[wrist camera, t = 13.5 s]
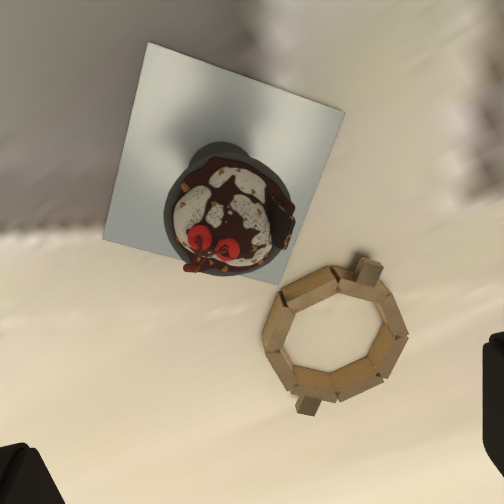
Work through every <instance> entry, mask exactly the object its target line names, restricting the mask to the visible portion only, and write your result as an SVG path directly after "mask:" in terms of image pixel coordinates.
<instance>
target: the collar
mask: <svg viewBox="0 0 504 504" xmlns="http://www.w3.org/2000/svg"><path fill="white" fill-rule="evenodd" d="M383 268H384V267H383V266H382V265H381V264H380V263H379V262H377V261H374V260H370V259H367V258H363V257H361V258H360V260H359V262H358V265H357V267H356V269H355V271H351V270H347V269H343V268H340V267H336V266H333V265H332V267H331V269H329V268H328V266H326V267H324V268H322V269H320V270H318V271H316V272H314V273H312V274H310V275H308V276H306V277H304V278H302V279H300V280H298V281H296V282H293V283H291V284H289V285H287V286H285V287H283V288H281V289H282V292H283V293H280V292H278V293H277V296H276V298H275V301H274V304H273V306H272V309H271V311H270V314H269V316H268V319H267V322H266V324H265V327H264V329H263V332H262V341H263V346H264V350H265V355H266V357H267V358H268V360H269V362H270V363H271V365H272V367H273V368H274V370H275V372H276V374H277V375H278V377H279V379H280V380H281V382H282V384H283V385H284V387H285V389H286V390H287V391H289V390H290V393H291V394H294V395H299V398H298V400H297V402H296V404H295V407H296V410H297V413H299V414H304V415H309V416H315V414H316V412H317V409H318V407H319V405H320V403H321V401H322V400H323V401H328V402H332V403H336V401H337V399H338V400H339V402H342V401H344V400H347V399H349V398H351V397H353V396H355V395H357V394H360V393H362V392H364V391H366V390H368V389H370V388H372V387H375V386H377V385H379V384H381V383H383V382H384V380H383V378H386V379H388V377H389V375H390V373H391V371H392V370H393V368H394V366H395V364H396V362H397V360H398V358H399V356H400V354H401V352H402V350H403V348H404V346H405V344H406V342H407V340H408V339H409V338H408V337H407V335H408V334H409V333H408V331H407V328H406V326H405V323H404V321H403V319H402V316H401V314H400V311H399V309H398V307H397V304H396V302H395V300H394V297H393V295H392V293H391V292H390V291H389V290H388V289H387V287H386V286H385V285H384V284H383V283H382V282H381V281H380V280H379V276H380V274H381V272H382V270H383ZM336 293H341V294H345V295H349V296H352V297H356V298H360V299H364V300H368V301H371V302H375V304H376V307H377V309H378V311H379V314H380V316H381V318H382V320H383V324H382V326H381V328H380V330H379V332H378V334H377V336H376V338H375V340H374V342H373V344H372V347H371V349H370V351H369V353H368V355H367V356H366V357H364V358H362V359H360V360H358V361H356V362H354V363H351V364H349V365H347V366H345V367H343V368H341V369H339V370H337V371H334V372H332V373H326V372H321V371H317V370H312V369H308V368H303V367H299V366H294V365H293V364H292V362H291V361H290V359H289V357H288V355H287V354H286V352H285V350H284V348H283V347H282V346H283V344H284V341H285V339H286V336H287V334H288V331H289V329H290V327H291V324H292V322H293V319H294V317H295V314H296V313H297V312H299V311H301V310H304V309H306V308H308V307H310V306H312V305H314V304H316V303H318V302H320V301H322V300H324V299H326V298H328V297H330V296H332V295H334V294H336Z"/></svg>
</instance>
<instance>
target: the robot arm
mask: <svg viewBox="0 0 504 504" xmlns="http://www.w3.org/2000/svg"><path fill="white" fill-rule="evenodd" d="M483 444H484V447H485V450H486V452H487V454H488V456H489V458H490V459H491V461H492V462H493V463H494V465H495V466H496V467H497V469H498V470H499V471H500V473H501V474H502V476H503V477H504V332H499V333H495V334H492V335H491V336H490V338H489V343H485V344H484V345H483ZM0 504H65V502H64V500H63V498H62V496H61V494H60V492H59V490H58V489H57V487H56V485H55V483H54V481H53V479H52V477H51V475H50V473H49V471H48V469H47V467H46V465H45V463H44V462H43V460H42V458H41V456H40V454H39V452H38V451H37V449H36V448H30V447H29V446H28V445H27V444H26V443H17V444H12V445H8V446H4V447H0Z"/></svg>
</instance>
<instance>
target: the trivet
mask: <svg viewBox="0 0 504 504" xmlns="http://www.w3.org/2000/svg"><path fill="white" fill-rule="evenodd" d="M344 116H345V112H342V111H339V110H336V109H334V108H331V107H328V106H325V105H322V104H320V103H317V102H314V101H311V100H309V99H306V98H303V97H300V96H297V95H295V94H292V93H289V92H286V91H284V90H281V89H278V88H275V87H272V86H270V85H267V84H264V83H261V82H258V81H256V80H253V79H250V78H247V77H245V76H242V75H239V74H236V73H233V72H231V71H228V70H225V69H222V68H220V67H217V66H214V65H211V64H208V63H206V62H203V61H200V60H197V59H194V58H192V57H189V56H186V55H183V54H181V53H178V52H175V51H172V50H169V49H167V48H164V47H161V46H158V45H155V44H153V43H150V42H148V45H147V49H146V54H145V58H144V62H143V67H142V71H141V75H140V80H139V84H138V88H137V92H136V97H135V101H134V105H133V110H132V114H131V118H130V122H129V127H128V131H127V135H126V140H125V144H124V148H123V152H122V157H121V161H120V165H119V170H118V174H117V178H116V182H115V187H114V191H113V195H112V200H111V204H110V208H109V212H108V217H107V221H106V225H105V230H104V234H103V238H102V239H103V240H107V241H110V242H114V243H118V244H122V245H126V246H130V247H133V248H137V249H141V250H145V251H149V252H152V253H156V254H160V255H164V256H168V257H171V258H175V259H179V260H182V259H181V258H180V256H179V255H178V254H177V252H176V251H175V250H174V248H173V247H172V245H171V243H170V242H169V239H168V236H167V234H166V231H165V226H164V217H163V211H164V206H165V202H166V199H167V196H168V193H169V191H170V189H171V187H172V186H173V184H174V183H175V181H176V180H177V179H178V178H179V176H180V175H181V174H182V173H183V171H184V170H186V169H187V168H188V166H189V162H190V160H191V159H192V157H193V156H194V154H195V153H196V152H197V151H198V150H199V149H201V148H202V147H204V146H206V145H208V144H209V143H214V142H228V143H232V144H235V145H237V146H239V147H240V148H242V149H243V150H244V151H245V152H246V153H248V155H249V156H250V157H251V158H254V159H257V160H259V161H260V162H262V163H263V164H265V165H266V166H268V167H269V168H270V169H271V170H273V171H274V172H275V173H276V174H277V175H278V176H279V177H280V179H281V180H282V181H283V183H284V184H285V186H286V188H287V190H288V192H289V194H290V197H291V201H292V203H294V205H295V211H294V213H293V216H294V217H295V221H296V223H295V226H294V228H293V233H292V237H291V240H290V242H289V245H288V247H287V249H286V250H281V251H280V253H279V254H278V255H277V256H276V257H275V258H274V259H273V260H272V261H271V262H270V263H268V264H267V265H265V266H263V267H262V268H260V269H258V270H255V271H253V272H250V273H246V274H241V275H240V276H244V277H248V278H252V279H255V280H259V281H263V282H267V283H271V284H275V285H278V286H279V283H280V281H281V278H282V276H283V273H284V271H285V268H286V265H287V263H288V260H289V258H290V255H291V252H292V250H293V247H294V245H295V242H296V240H297V237H298V234H299V232H300V229H301V227H302V224H303V221H304V219H305V216H306V214H307V211H308V209H309V206H310V203H311V201H312V198H313V196H314V193H315V190H316V188H317V185H318V183H319V180H320V178H321V175H322V172H323V170H324V167H325V165H326V162H327V159H328V157H329V154H330V152H331V149H332V147H333V144H334V141H335V139H336V136H337V134H338V131H339V128H340V126H341V123H342V121H343V118H344Z"/></svg>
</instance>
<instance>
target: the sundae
mask: <svg viewBox="0 0 504 504" xmlns="http://www.w3.org/2000/svg"><path fill="white" fill-rule="evenodd" d="M294 211H295V205H294V203H292V201H291V197H290V194H289V192H288V190H287V188H286V186H285V184H284V183H283V181H282V180H281V179H280V177H279V176H278V175H277V174H276V173H275V172H274V171H273V170H271V169H270V168H269V167H268V166H266V165H265V164H263V163H262V162H260V161H259V160H257V159H254V158H251V157H250V156H249V155H248V153H246V152H245V151H244V150H243V149H242V148H240V147H239V146H237V145H235V144H232V143H228V142H214V143H209V144H208V145H206V146H204V147H202V148H201V149H199V150H198V151H197V152H196V153H195V154H194V156H193V157H192V159H191V160H190V162H189V166H188V168H187V169H186V170H184V171H183V173H182V174H181V175H180V176H179V178H178V179H177V180H176V181H175V183H174V184H173V186H172V187H171V189H170V191H169V193H168V196H167V199H166V202H165V206H164V211H163V217H164V226H165V231H166V234H167V236H168V239H169V242H170V243H171V245H172V247H173V248H174V250H175V251H176V252H177V254H178V255H179V256H180V258H181V259H182V260H183V261H185V262H186V263H187V264H185V265H184V266H183V270H184V271H185V272H194V273H197V272H202V273H206V274H210V275H215V276H235V275H241V274H246V273H250V272H253V271H255V270H258V269H260V268H262V267H263V266H265V265H267V264H268V263H270V262H271V261H272V260H273V259H274V258H275V257H276V256H277V255H278V254H279V253H280V251H281V250H286V249H287V247H288V245H289V242H290V240H291V237H292V233H293V228H294V226H295V223H296V221H295V217H294V216H293V213H294Z"/></svg>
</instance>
